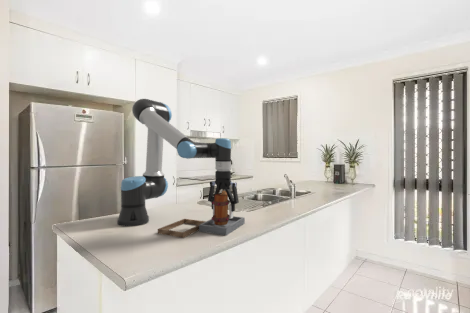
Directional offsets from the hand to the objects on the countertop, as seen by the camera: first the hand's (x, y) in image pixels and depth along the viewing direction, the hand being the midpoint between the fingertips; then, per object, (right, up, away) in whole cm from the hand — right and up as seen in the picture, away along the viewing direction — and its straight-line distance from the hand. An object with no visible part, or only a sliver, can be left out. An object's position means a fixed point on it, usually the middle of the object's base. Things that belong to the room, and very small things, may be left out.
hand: (222, 217), depth 122 cm
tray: (0, -5, 0) cm, 5 cm away
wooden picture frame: (-18, -5, -4) cm, 19 cm away
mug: (0, -3, 0) cm, 3 cm away
